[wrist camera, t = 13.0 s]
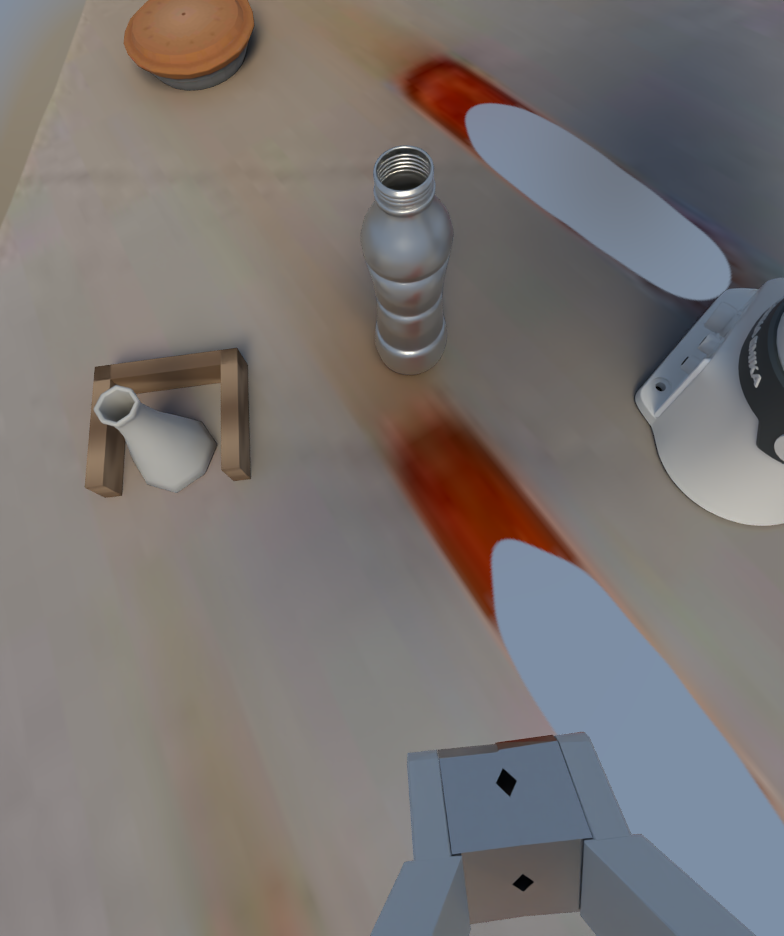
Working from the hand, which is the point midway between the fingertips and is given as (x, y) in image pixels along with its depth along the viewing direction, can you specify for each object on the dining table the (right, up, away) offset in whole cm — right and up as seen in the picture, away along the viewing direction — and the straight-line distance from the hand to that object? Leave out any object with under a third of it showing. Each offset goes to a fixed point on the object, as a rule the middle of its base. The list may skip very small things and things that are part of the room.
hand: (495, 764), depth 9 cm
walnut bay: (-21, +8, +40) cm, 46 cm away
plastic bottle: (0, +16, +41) cm, 44 cm away
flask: (-21, +6, +39) cm, 45 cm away
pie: (-25, +55, +57) cm, 84 cm away
